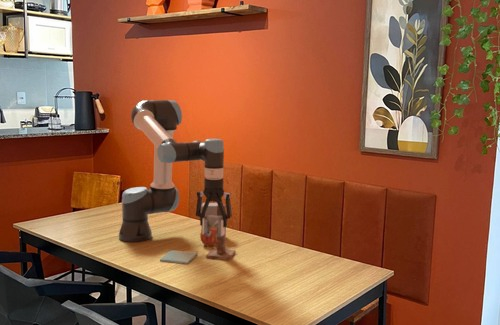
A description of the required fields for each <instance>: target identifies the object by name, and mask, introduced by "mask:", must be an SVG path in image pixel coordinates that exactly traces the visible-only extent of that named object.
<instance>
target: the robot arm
mask: <svg viewBox="0 0 500 325" xmlns="http://www.w3.org/2000/svg"><path fill="white" fill-rule="evenodd" d="M182 112H183V111H182V109H181V106H180V104H179V103H178V102H177V101H176V100H173V99H172V100H171V99H169V100H168V99H154V100H153V99H152V100H151V99H145V100H141V101H139V102H137V103H136V104H135V105H134V106H133V108H132V109H131V112H130V120H131V122H132V124H133V126H134V127H135V128H136V129H137V130H139V131H142V132H143V134H144V135H145V136H146V137H147V139H149V141H150V142H151V143H152V144H153V145H154V147H153V148H154V149H153V150H154V153H153V154H154V155H153V180H152V182H151V183H150V184H149V185H150V186H149V189H148V188H147V187H145V186H137V187H130V188H128V189H125V190H124V191H123V192H122V195H121V211H122V212H121V214H122V216H121V217H122V224H121V225H120V229H119V231H118V232H119V233H118V239H119V240H120V241H122V242H127V243H139V242H145V241H148V240H150V239H151V238H152V237H153V234H152V233H153V232H152V230H151V226H150V224H149V220H148V219H149V217H148V216H149V215H152V214H161V213H168V212H172V211H173V212H174V211H175V210H176V209H177V208H178V205H179V202H180V194H179V189H178V188H177V187H175V186H176V185H175V183H174V182H173V180H172V179H173V178H172V177H173V163H179V162H193V161H202V162H204V180H203V181H204V188H203V191H201V190H199V191H197V192H196V197H197V201H196V209H195V210H196V211H195V216H196V217H199V219H200V220H199V222H200V223H199V225H200V226H201V229H202V234H204V216H205V213H206V211H207V208H208V205H209V203H211V202H214V203H217V204H218V206H219V209H220V212H221V214H222V217H223V219H222V220H221V236H223V235H224V234H225V227H226V228H227V227H228V219H231V218H232V216H233V215H232V214H233V213H232V205H231V197H232V193H230V192H226V191H225V190H224V164H225V163H224V162H225V161H224V160H225V159H224V158H225V153H224V152H225V148H224V146H225V145H224V140H223V139H221V138H207V139H205V140H204V141H202V140H193V141H192V142H191V141H190V142H178V141H176V140H175V139H174V133H175V132H176V131H177V129H178V127H177V126H180V124H182V121H183V113H182ZM223 196H224V199H225V205H226V211H225V208H224V205H223V204H224V203H223V199H222V197H223ZM203 197H205V198H206V199H205V201H204V203H205V204H204V207H203V209H202V212H201V205H202V204H203V202H202V201H203Z"/></svg>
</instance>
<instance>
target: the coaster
mask: <svg viewBox="0 0 500 325" xmlns="http://www.w3.org/2000/svg"><path fill="white" fill-rule="evenodd" d="M196 256H198V252H193V251H184V250H183V251H182V250H172V249H171V250H170V251H168V252H166V253H165V254H164V255H163V256H162V257H160V258H159V261H160V262H165V263H174V264H185V265H188V264H189V263H190V262H191V261H192V260H193V259H194V258H196Z"/></svg>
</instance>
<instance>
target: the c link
mask: <svg viewBox="0 0 500 325" xmlns="http://www.w3.org/2000/svg"><path fill="white" fill-rule="evenodd" d="M222 219H223V217H222V216H216V215H206V216H204V236H210V235H211V234H212V231H209V220H217V221H218V232H217V233H216V237H222V236H221V220H222Z"/></svg>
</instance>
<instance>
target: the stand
mask: <svg viewBox="0 0 500 325" xmlns="http://www.w3.org/2000/svg"><path fill="white" fill-rule="evenodd" d="M223 205H224V208H225V211H226V212H227V209H226V203H225V204H224V203H223ZM217 216H222V214H221V212H220V209H219V206H218V205H217ZM216 228H217V232H218V221H216V222H215V223H214V224H213V225H212V226H211V230H215V229H216ZM226 229H227V227H225V234H224V235H223V236H222V237H217V243H216V247H213V248H212V249H211V250H210V251H209V252H207V254H206V257H205V258H206V259H211V258H212V259H213V260H224V261H230V260H231V259H232V257H233V256H234V255H235V254H236V249H227V248H226V240H227V239H226V236H227V235H226V231H227V230H226Z"/></svg>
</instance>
